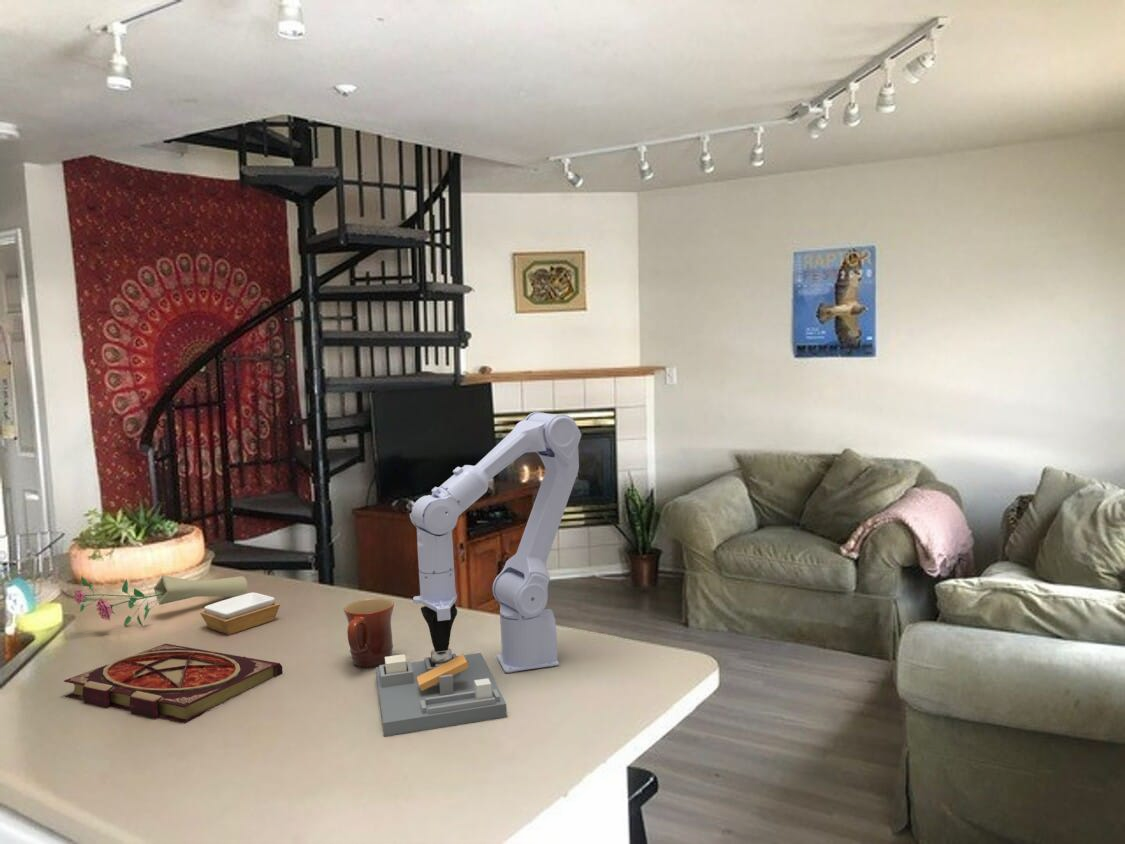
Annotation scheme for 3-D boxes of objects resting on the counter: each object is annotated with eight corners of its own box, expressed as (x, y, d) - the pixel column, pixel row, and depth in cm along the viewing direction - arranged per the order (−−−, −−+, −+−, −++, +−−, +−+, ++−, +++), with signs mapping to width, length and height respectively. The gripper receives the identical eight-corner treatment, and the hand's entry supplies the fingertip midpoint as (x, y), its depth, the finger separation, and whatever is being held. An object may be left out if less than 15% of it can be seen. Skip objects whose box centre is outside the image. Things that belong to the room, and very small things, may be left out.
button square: (405, 664, 137) (404, 654, 137) (406, 671, 134) (406, 661, 134) (385, 667, 137) (384, 656, 136) (386, 674, 133) (385, 663, 133)
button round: (450, 657, 140) (450, 646, 140) (453, 664, 137) (452, 653, 136) (430, 659, 139) (429, 649, 139) (432, 667, 136) (432, 656, 136)
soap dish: (255, 612, 181) (254, 590, 180) (282, 620, 175) (280, 597, 174) (200, 629, 171) (198, 605, 171) (226, 638, 165) (224, 614, 164)
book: (282, 680, 145) (281, 652, 145) (181, 729, 126) (179, 697, 126) (169, 659, 158) (167, 633, 157) (60, 701, 139) (58, 672, 138)
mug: (360, 651, 154) (356, 597, 153) (404, 653, 153) (401, 598, 152) (329, 677, 143) (325, 619, 142) (377, 679, 141) (373, 620, 140)
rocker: (466, 661, 134) (463, 653, 133) (470, 669, 130) (466, 662, 130) (420, 684, 132) (416, 676, 132) (422, 693, 128) (419, 685, 128)
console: (481, 663, 146) (480, 636, 145) (506, 716, 125) (505, 684, 124) (376, 678, 141) (374, 650, 141) (384, 736, 120) (382, 702, 120)
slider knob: (489, 695, 128) (488, 678, 127) (491, 701, 125) (491, 683, 125) (475, 698, 127) (474, 680, 127) (477, 703, 125) (476, 685, 125)
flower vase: (243, 633, 190) (82, 647, 162) (217, 608, 197) (58, 618, 169) (259, 585, 189) (98, 592, 161) (232, 562, 196) (74, 564, 168)
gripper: (407, 561, 142) (412, 638, 144) (416, 583, 128) (421, 669, 130) (449, 556, 144) (453, 633, 145) (461, 578, 130) (466, 662, 131)
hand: (441, 649), depth 138 cm, fingers closed
